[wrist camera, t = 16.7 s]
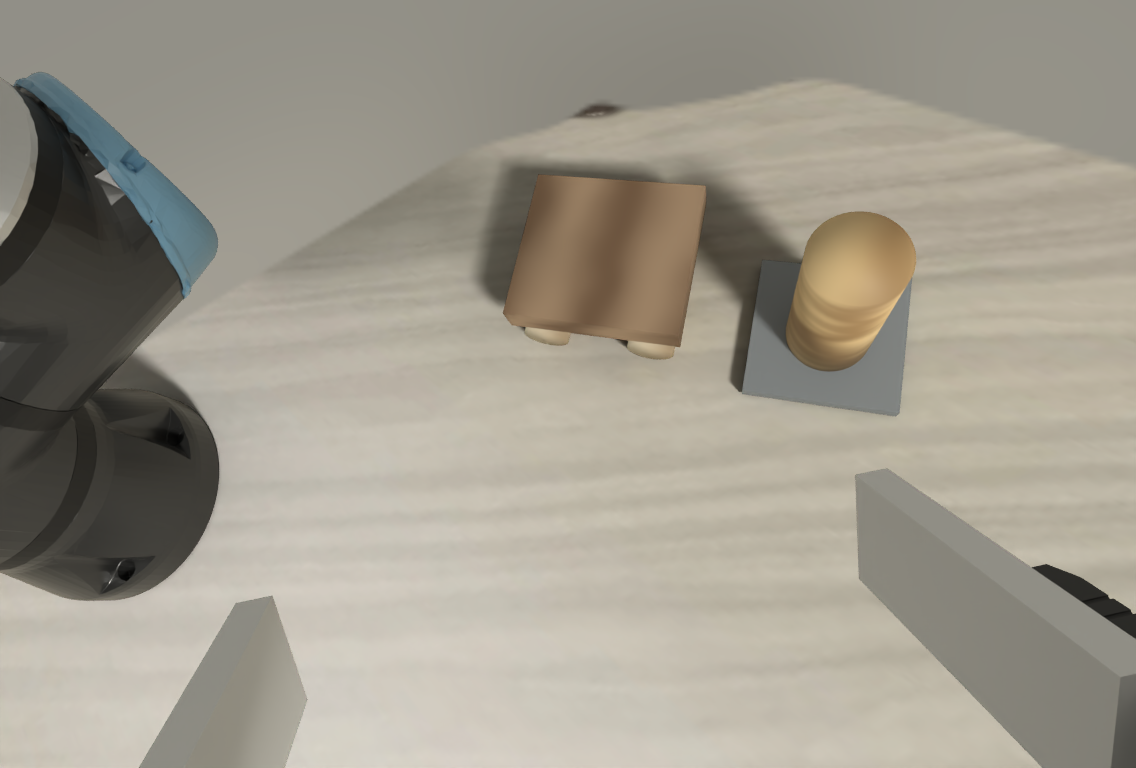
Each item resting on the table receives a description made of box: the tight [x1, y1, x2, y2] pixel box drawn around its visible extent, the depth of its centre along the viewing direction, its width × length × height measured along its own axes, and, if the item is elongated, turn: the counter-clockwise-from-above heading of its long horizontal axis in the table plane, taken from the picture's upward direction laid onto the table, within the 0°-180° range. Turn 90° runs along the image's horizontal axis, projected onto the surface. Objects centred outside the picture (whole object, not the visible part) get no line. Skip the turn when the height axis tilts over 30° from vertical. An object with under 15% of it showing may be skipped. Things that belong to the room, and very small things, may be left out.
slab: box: [503, 174, 706, 359], centre depth 44 cm, size 11×10×5 cm
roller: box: [786, 212, 916, 372], centre depth 37 cm, size 5×5×10 cm
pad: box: [742, 260, 912, 416], centre depth 42 cm, size 9×9×1 cm
